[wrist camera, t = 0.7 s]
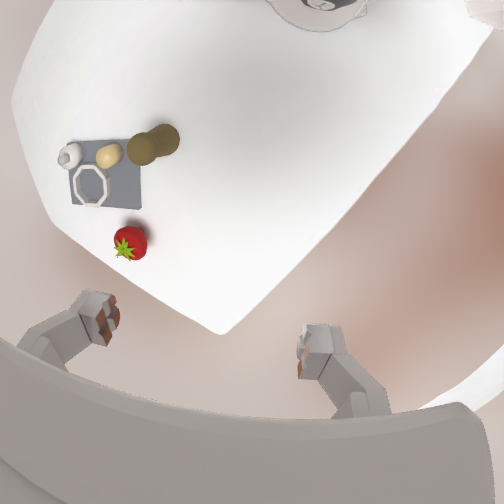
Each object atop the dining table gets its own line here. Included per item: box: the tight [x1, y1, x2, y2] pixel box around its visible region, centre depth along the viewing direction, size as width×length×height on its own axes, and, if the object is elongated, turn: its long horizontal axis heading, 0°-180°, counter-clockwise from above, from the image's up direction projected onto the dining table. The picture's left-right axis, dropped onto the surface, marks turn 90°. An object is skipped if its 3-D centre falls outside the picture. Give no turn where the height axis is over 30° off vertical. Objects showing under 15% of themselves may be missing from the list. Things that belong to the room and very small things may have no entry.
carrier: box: [58, 140, 141, 210], centre depth 45 cm, size 14×18×6 cm
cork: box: [127, 124, 180, 166], centre depth 40 cm, size 6×6×11 cm
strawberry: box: [114, 226, 147, 261], centre depth 50 cm, size 6×8×10 cm
